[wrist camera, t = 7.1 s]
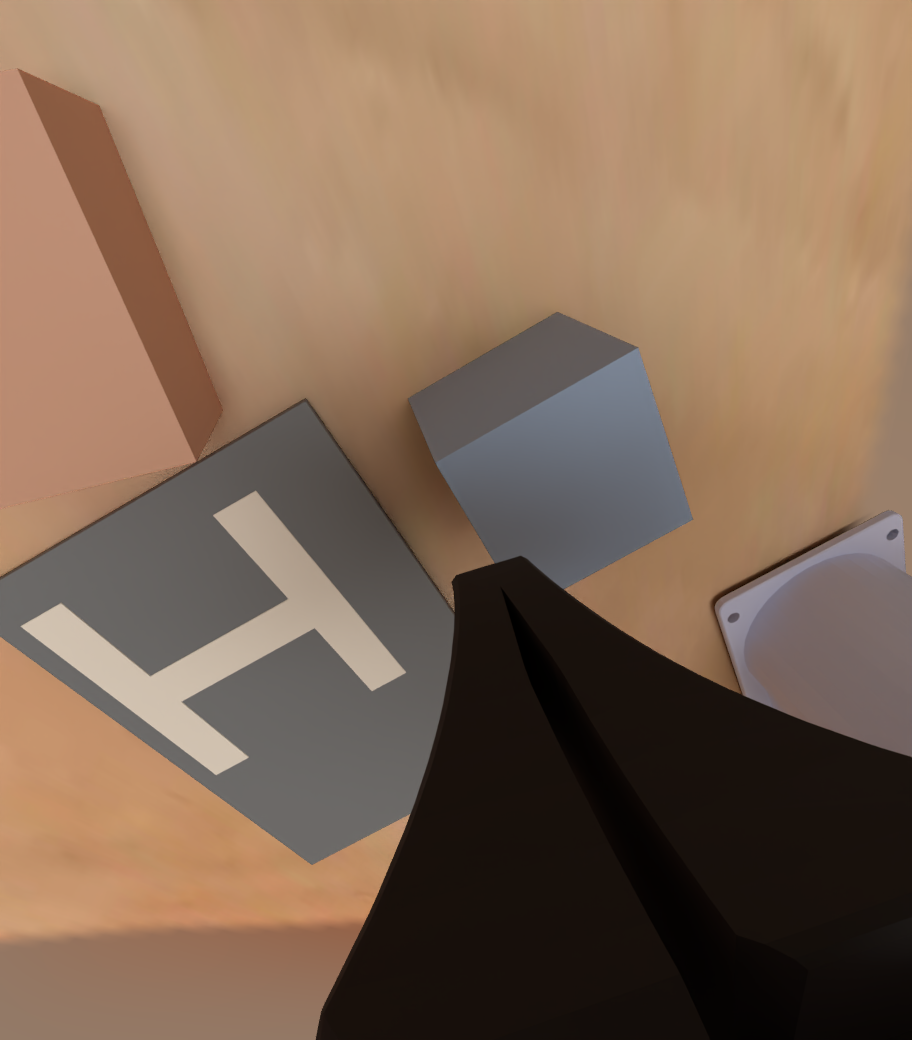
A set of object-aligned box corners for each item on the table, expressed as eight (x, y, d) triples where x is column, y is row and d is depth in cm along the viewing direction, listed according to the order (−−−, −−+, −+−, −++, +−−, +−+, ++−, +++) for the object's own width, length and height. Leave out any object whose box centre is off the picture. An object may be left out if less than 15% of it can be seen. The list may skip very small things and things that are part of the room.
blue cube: (610, 449, 19) (693, 519, 15) (479, 521, 19) (523, 610, 15) (556, 311, 16) (638, 348, 12) (407, 397, 17) (435, 462, 12)
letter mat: (541, 738, 25) (544, 745, 25) (312, 858, 26) (311, 865, 26) (305, 398, 16) (305, 401, 16) (-37, 598, 17) (-44, 605, 16)
